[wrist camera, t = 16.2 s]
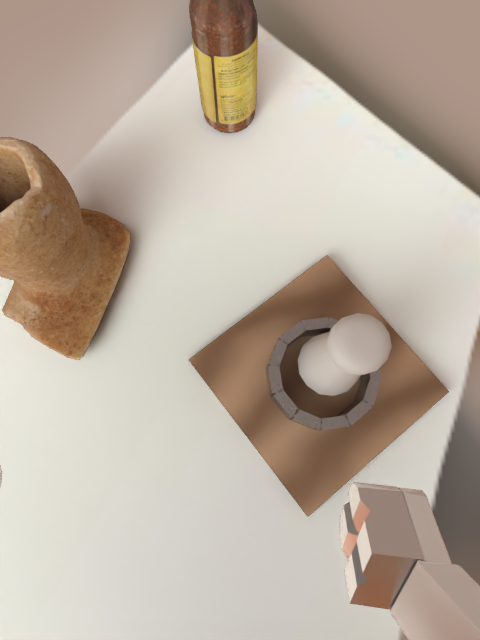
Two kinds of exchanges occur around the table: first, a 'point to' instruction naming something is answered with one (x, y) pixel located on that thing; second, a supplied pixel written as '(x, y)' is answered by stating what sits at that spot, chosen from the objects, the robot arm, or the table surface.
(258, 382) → the keeper plate
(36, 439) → the table surface
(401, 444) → the table surface
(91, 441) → the table surface
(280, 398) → the keeper collar
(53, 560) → the table surface
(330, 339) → the salt shaker
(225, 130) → the sauce bottle
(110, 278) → the stone cup
